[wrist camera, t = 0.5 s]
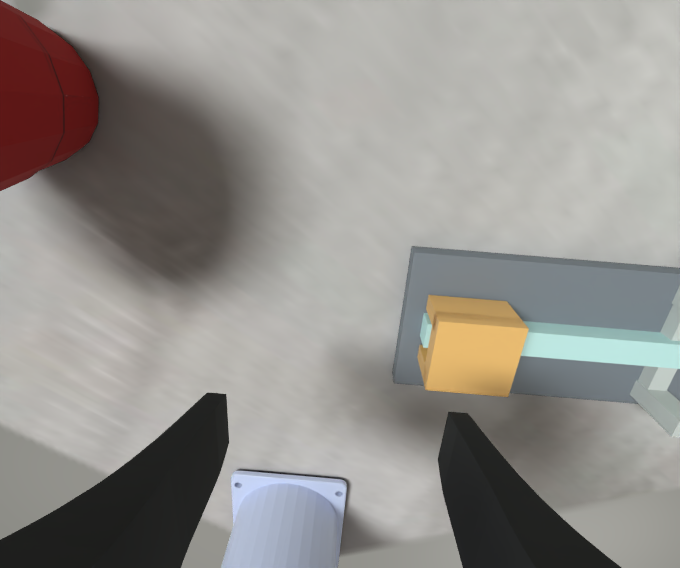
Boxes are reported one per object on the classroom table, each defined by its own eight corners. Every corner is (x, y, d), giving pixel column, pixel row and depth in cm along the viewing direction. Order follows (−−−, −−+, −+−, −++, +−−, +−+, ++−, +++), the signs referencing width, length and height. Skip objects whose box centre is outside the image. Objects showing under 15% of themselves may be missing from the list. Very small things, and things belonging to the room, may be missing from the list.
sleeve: (489, 363, 21) (507, 396, 19) (417, 357, 21) (425, 390, 19) (506, 301, 20) (528, 328, 17) (428, 294, 20) (439, 321, 17)
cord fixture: (725, 400, 23) (799, 457, 19) (392, 372, 23) (399, 423, 20) (798, 277, 20) (902, 316, 16) (411, 246, 20) (424, 277, 16)
